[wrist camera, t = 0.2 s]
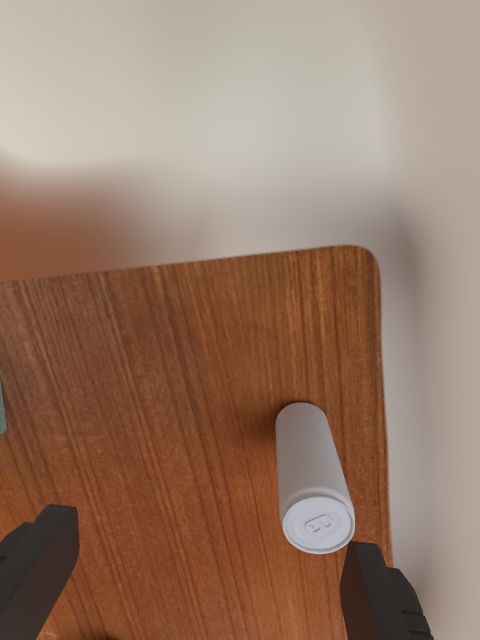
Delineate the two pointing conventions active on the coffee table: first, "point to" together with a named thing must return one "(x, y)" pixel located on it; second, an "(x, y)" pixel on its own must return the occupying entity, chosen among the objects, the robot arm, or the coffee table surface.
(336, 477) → the beverage can
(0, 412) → the scale
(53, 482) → the coffee table surface
